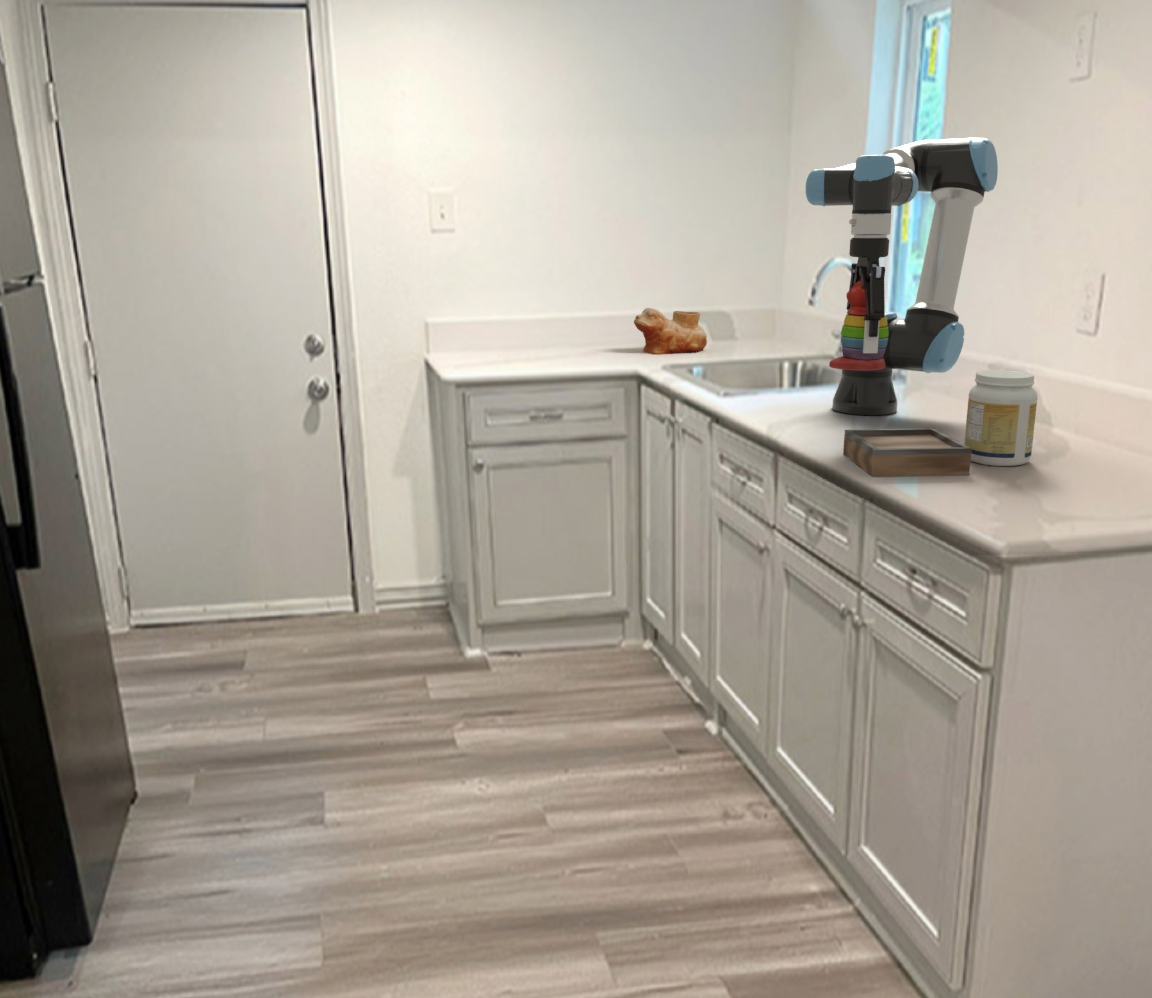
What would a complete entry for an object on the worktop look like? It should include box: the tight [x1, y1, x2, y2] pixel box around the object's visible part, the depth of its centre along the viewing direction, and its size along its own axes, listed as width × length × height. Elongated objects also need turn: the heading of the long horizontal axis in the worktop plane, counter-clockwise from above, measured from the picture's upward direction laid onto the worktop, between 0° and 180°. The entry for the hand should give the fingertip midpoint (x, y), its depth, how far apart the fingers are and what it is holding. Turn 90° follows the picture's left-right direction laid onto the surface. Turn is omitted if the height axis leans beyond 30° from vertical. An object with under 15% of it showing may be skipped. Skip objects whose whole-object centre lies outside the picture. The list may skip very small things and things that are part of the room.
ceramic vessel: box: [633, 307, 708, 356], centre depth 356 cm, size 14×26×15 cm, turn 108°
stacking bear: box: [828, 280, 889, 370], centre depth 213 cm, size 11×10×18 cm
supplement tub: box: [963, 369, 1038, 467], centre depth 201 cm, size 12×12×17 cm
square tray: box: [842, 427, 972, 478], centre depth 199 cm, size 18×18×5 cm
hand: (862, 349), depth 214 cm, fingers closed on stacking bear, 9 cm apart
